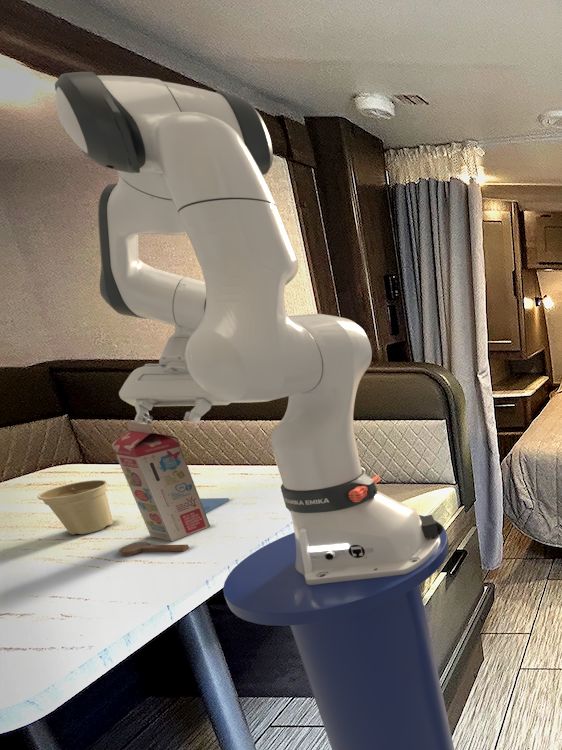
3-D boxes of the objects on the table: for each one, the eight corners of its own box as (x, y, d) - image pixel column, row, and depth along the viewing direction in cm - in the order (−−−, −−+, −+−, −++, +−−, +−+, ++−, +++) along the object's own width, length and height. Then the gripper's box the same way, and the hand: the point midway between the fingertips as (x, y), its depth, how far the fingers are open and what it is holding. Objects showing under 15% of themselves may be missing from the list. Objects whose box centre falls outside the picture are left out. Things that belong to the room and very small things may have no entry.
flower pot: (45, 535, 98) (24, 495, 95) (105, 515, 106) (88, 477, 103) (76, 542, 95) (55, 500, 92) (135, 520, 104) (118, 482, 100)
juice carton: (189, 521, 103) (148, 417, 94) (210, 526, 100) (170, 420, 92) (150, 536, 97) (103, 426, 89) (171, 541, 95) (125, 429, 86)
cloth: (229, 500, 113) (228, 496, 112) (200, 515, 105) (199, 512, 105) (194, 501, 113) (193, 497, 112) (163, 516, 105) (161, 512, 105)
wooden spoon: (195, 544, 93) (194, 540, 93) (177, 555, 90) (175, 551, 89) (135, 545, 94) (133, 541, 93) (114, 556, 90) (112, 552, 89)
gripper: (125, 354, 98) (95, 415, 93) (228, 352, 98) (204, 413, 93) (154, 373, 104) (128, 431, 99) (251, 371, 104) (230, 429, 99)
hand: (166, 422), depth 96 cm, fingers open, 8 cm apart
